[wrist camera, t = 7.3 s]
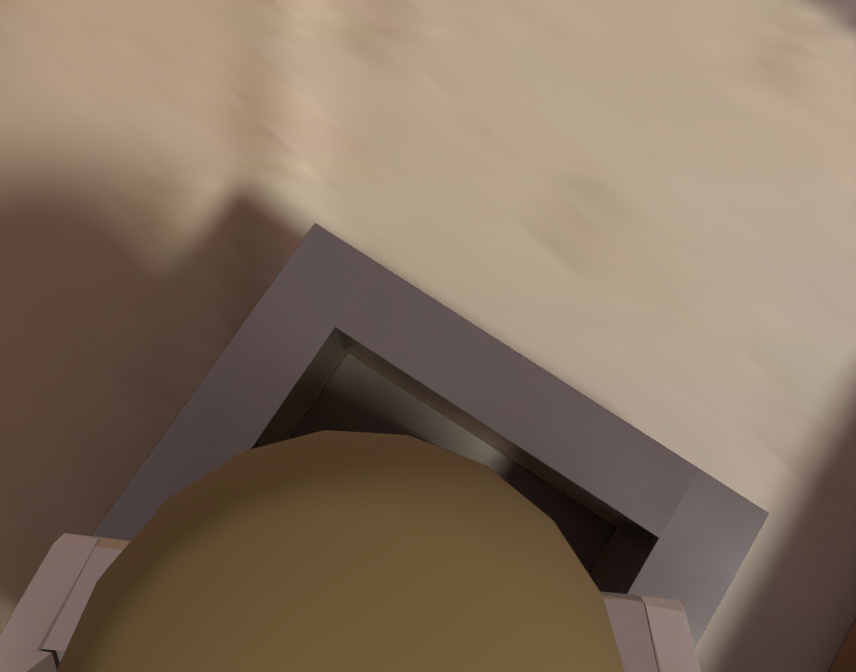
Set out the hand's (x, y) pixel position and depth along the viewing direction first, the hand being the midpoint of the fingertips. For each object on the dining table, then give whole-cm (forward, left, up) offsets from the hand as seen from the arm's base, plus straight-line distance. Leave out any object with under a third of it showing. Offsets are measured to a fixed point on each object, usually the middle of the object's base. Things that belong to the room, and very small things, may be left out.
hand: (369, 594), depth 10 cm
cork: (0, -1, -7) cm, 7 cm away
